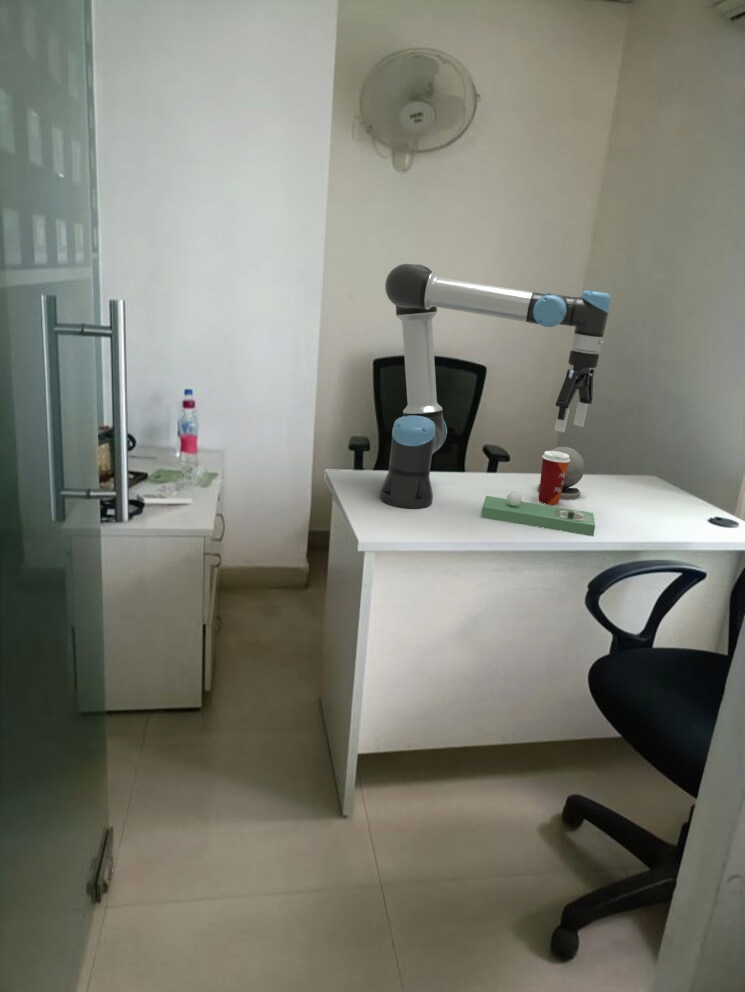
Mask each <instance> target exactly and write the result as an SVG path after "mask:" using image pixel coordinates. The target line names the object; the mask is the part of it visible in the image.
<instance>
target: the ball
mask: <svg viewBox="0 0 745 992" xmlns="http://www.w3.org/2000/svg"><path fill="white" fill-rule="evenodd" d="M506 499H507V502H508V504H509V505H511V506H517V505H519V504H520V503H521V501H522V496H521V494H520V493H519V492H517V491H511V492H510V493H508V495H507V496H506Z"/></svg>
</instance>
